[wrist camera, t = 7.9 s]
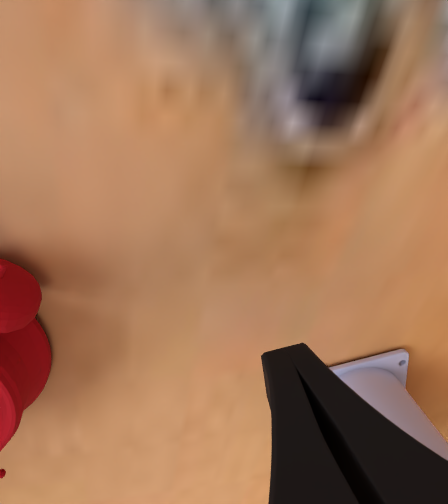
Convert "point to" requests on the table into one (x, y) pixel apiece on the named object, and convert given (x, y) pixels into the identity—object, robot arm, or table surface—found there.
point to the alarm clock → (19, 348)
